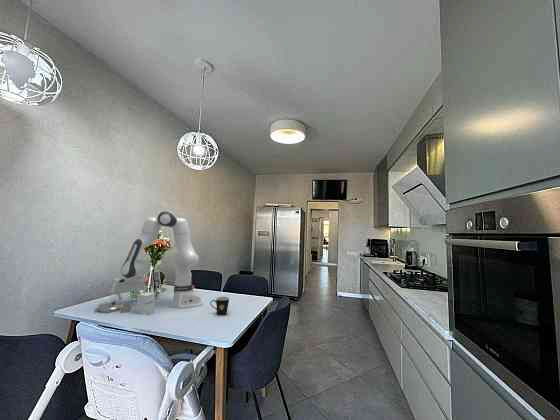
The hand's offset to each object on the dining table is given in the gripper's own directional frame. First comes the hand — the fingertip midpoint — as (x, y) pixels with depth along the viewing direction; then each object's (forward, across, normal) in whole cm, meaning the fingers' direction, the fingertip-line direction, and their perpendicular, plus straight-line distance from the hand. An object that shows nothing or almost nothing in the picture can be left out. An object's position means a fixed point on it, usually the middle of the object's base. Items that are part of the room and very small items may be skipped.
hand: (127, 298), depth 167 cm
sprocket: (+3, +12, +6) cm, 13 cm away
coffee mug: (+5, -35, +59) cm, 69 cm away
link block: (+5, +7, +18) cm, 20 cm away
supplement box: (+5, -1, +26) cm, 26 cm away
